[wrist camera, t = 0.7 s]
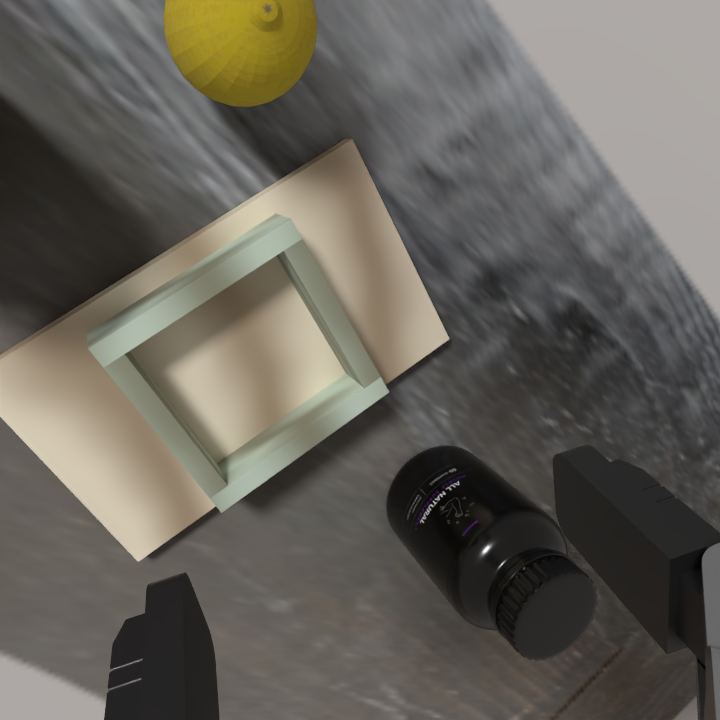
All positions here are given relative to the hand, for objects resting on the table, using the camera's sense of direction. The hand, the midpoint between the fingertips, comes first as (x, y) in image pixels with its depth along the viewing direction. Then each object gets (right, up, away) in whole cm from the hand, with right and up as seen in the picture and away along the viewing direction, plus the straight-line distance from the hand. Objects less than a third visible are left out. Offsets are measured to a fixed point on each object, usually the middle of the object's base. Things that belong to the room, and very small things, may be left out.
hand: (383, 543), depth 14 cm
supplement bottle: (+4, -4, +27) cm, 27 cm away
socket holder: (-7, +4, +19) cm, 21 cm away
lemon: (-7, +18, +15) cm, 24 cm away
